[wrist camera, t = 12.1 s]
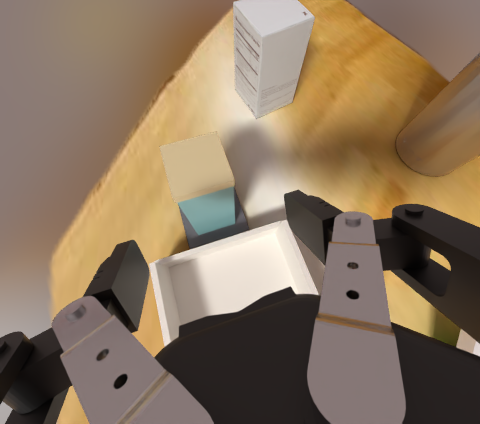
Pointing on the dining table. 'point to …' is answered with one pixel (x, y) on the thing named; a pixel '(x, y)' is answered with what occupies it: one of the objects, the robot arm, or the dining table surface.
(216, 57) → the dining table surface
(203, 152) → the tea tin
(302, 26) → the supplement box
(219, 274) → the tote
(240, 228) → the coaster
